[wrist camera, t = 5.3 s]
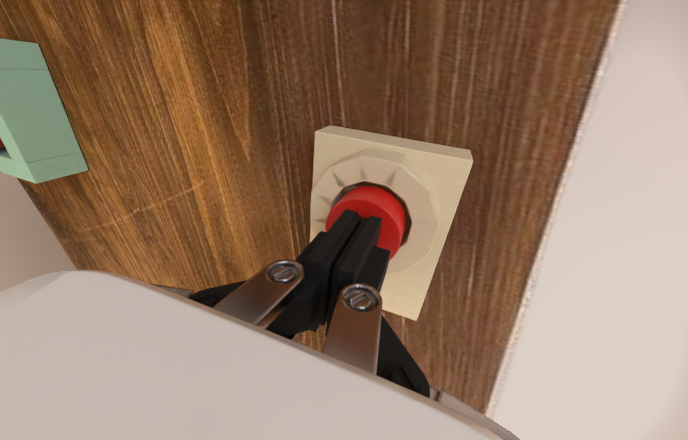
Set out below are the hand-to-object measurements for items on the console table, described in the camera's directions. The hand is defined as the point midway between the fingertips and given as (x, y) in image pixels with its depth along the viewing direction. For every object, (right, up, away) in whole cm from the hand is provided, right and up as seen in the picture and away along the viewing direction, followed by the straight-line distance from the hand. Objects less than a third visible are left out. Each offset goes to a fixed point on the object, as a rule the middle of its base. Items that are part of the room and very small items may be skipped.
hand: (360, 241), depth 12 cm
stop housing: (+2, +1, +6) cm, 6 cm away
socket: (-30, +12, +13) cm, 35 cm away
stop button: (+1, +1, +2) cm, 2 cm away
